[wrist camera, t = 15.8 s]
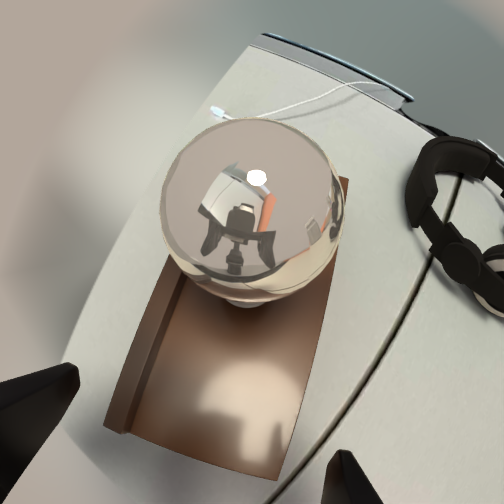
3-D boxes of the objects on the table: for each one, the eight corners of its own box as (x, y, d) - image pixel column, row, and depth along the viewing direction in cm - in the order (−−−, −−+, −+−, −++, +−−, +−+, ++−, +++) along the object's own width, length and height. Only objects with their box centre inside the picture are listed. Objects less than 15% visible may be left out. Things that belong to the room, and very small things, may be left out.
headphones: (550, 329, 14) (385, 144, 23) (492, 362, 20) (363, 205, 30) (585, 231, 19) (471, 113, 28) (548, 268, 25) (449, 159, 35)
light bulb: (324, 304, 19) (415, 178, 9) (228, 367, 17) (210, 301, 7) (261, 222, 22) (280, 65, 11) (170, 272, 20) (110, 125, 9)
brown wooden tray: (270, 468, 18) (280, 487, 13) (133, 422, 19) (102, 425, 14) (336, 207, 28) (354, 166, 23) (229, 178, 29) (228, 133, 24)
